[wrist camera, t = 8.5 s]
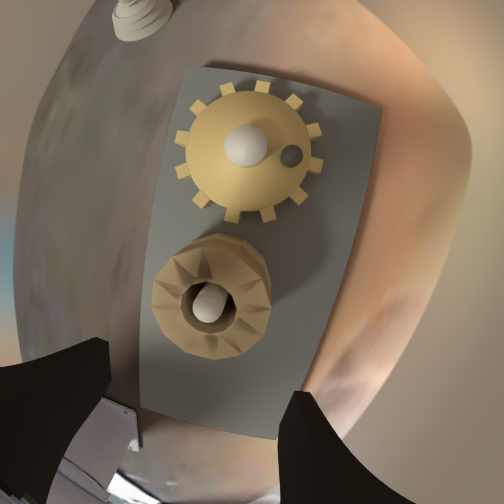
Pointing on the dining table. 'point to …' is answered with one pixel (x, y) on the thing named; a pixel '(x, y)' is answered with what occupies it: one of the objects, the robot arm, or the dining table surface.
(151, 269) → the gear board
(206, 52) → the dining table surface
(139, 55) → the dining table surface
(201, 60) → the dining table surface
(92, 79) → the dining table surface
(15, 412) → the robot arm
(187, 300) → the wooden ring spacer
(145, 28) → the chalice
